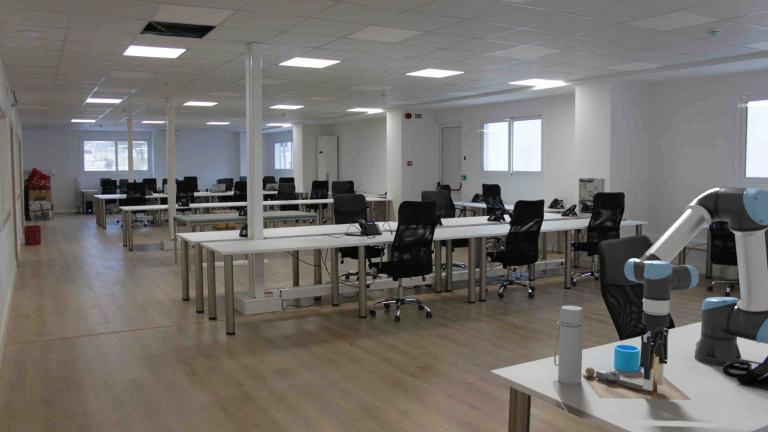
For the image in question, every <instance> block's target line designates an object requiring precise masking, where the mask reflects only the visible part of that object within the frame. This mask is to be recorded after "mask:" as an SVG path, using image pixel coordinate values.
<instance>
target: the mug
mask: <svg viewBox="0 0 768 432" xmlns="http://www.w3.org/2000/svg"><path fill="white" fill-rule="evenodd" d="M640 355H641V348H640V347H638V346H635V345H631V344H616V345H614V354H613V356H614V357H613V359H614V360H613V367H614V368H615V369H616V370H619V371H622V372H637V371H639V370H640Z"/></svg>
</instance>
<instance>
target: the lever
mask: <svg viewBox="0 0 768 432" xmlns="http://www.w3.org/2000/svg"><path fill="white" fill-rule="evenodd" d="M658 367H659V356H657V355H655V354H654V360H653V365H652V369H653V390H652V391H650V390H647V389H643V383H641V382H637V381H633V380H629V379H626V378H622V377H620V375H621V373H619V372H617V370H614V369H610V370H609V371H606V370H603V369H598V370H595V375H596V378H598V379H602V380H605V381H606V382H609V383H617V384H620V385H624V386H628V387H631V388H635V389H638V390H642V391H646V392H649V393H657V389H658Z"/></svg>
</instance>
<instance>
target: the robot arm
mask: <svg viewBox="0 0 768 432" xmlns="http://www.w3.org/2000/svg"><path fill="white" fill-rule="evenodd" d="M718 221H719V222H728V228H729V231H731V232H732V233H733V234H734V238H735V239H734V240H735V248H736V249H735V250H736V257H737V268H738V269H737V270H738V278H739V280H738V281H739V282H738V283H739V291H740V299H739V298H737V297H732V296H713V297H707V298H705V299H704V300H703V301H702V305H701V306H702V307H701V322H700V323H701V325H700V326H701V328H700V338H699V341H698V343H697V345H696V348H695V350H694V359H695V360H697V361H698V362H701V363H705V364H707V365H712V366H719V367H725V366H724V365H725V364H726V362H727V361H733V360H741V361H742V354H741V351H740V348H739V345H738V338H740V339H744V340H745V339H746V340H748V341H752V342H756V343H758V344H760V343H761V344H765V345H768V259H767V245H766V237H765V236H766V235H765V232H766V231H767V230H768V190H766V189H763V188H756V187H739V186H738V187H733V186H731V187H730V186H729V187H728V186H718V187H714V188H712V189H709V190H706V191H704V192H703V193H701V194H699V195H698V196H696V197H695V198H694V199H693V200H691V201H690V202H689V203H688V204H687V205H686V207H684V210H683V214H682V215H681V216H680V217H679V218H678V219H677V220H676V221H675V222H674V223H673V224H672V225H671V226H670V227H669V228H668V229H667V230H666V231H665V232H664V233H663V234H662V235H661V236H660V237H659V239H657V241H656V242H654V243H653V245H651V246H650V248H648V249H647V251H645V252H644V254H643V255H642V256H641V257H640V258H639V257H638V258H637V257H636V258H630V259H628V260H627V261H626V262H625V264H624V269H623V271H624V275H625V277H626V278H627V279H628V280H629V281H633V282H636V283H638V284H639V283H640V284H643V294H642V295H643V299H641V301H642V310H643V311H642V321H641V322H642V324H643V325H644V326H646V331H645V334H641V335H640V341H641V343H640V344H641V345H640V360H639V368H643V372H642V373H643V374H642V376H643V389H647V390H650V391H652V390H653V369H652V365H653V360H654V355H657V356H659V367H658V385H663V376H664V370H665V369H664V367H665V365H667V364H668V353H669V351H668V349H669V345H668V341H669V339H668V338H669V337H668V336H669V332H670V331H669V328H667V327H669V326H670V314H669V313H670V312H671V311H670V310H671V292H676V291H687V290H690V289H693V288H694V287H696V286H697V284H698V282H699V279H700V277H699V275H700V274H699V272H698V270H697V269H696V267H694V266H693V265H690V264H680V265H679V264H672V263H671V261H672V260H673V259H675V257H676V256H677V255H678V254H679V253H680V252H681V251H682V250H683V249H684V248H685V247H686V246H687V245H688V244H689V242H691V240H693V238H694V237H695V236H696V235H697V234H698V233H699V232H700V231H701V230H702V229H703V228H707V227H709V226H710V225H711V224H712V223H714V222H718Z"/></svg>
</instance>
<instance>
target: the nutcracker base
mask: <svg viewBox="0 0 768 432" xmlns="http://www.w3.org/2000/svg"><path fill="white" fill-rule="evenodd" d="M581 377H582V378H584V381H586V383H587V384H588V385H589V387H590V388H592V390H593V392H595V394H596V395H597V397H599V398H601V399H641V400H642V399H647V400H683V401H684V400H688V401H690V400H691V397H689V396H688V395H687V394H685V392H683V391H682V390H681V389H680V388H679V387H677V386H676V385H675V384H674V383H673V382H671V380H669V379H668V378H667V377H666V376H665V375H663V385H658V389H657V393H649V392H646V391H642V390H638V389H635V388H631V387H628V386H624V385H620V384H617V383H609V382H606V381H605V380H602V379H598V378H596V370H595V369H594V367H592V366H589V367H587V368H585V374H582V373H581ZM620 377H622V378H626V379H629V380H633V381H637V382H641V383H643V375H636V374H635V375H630V374H628V375H626V374H620Z"/></svg>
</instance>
